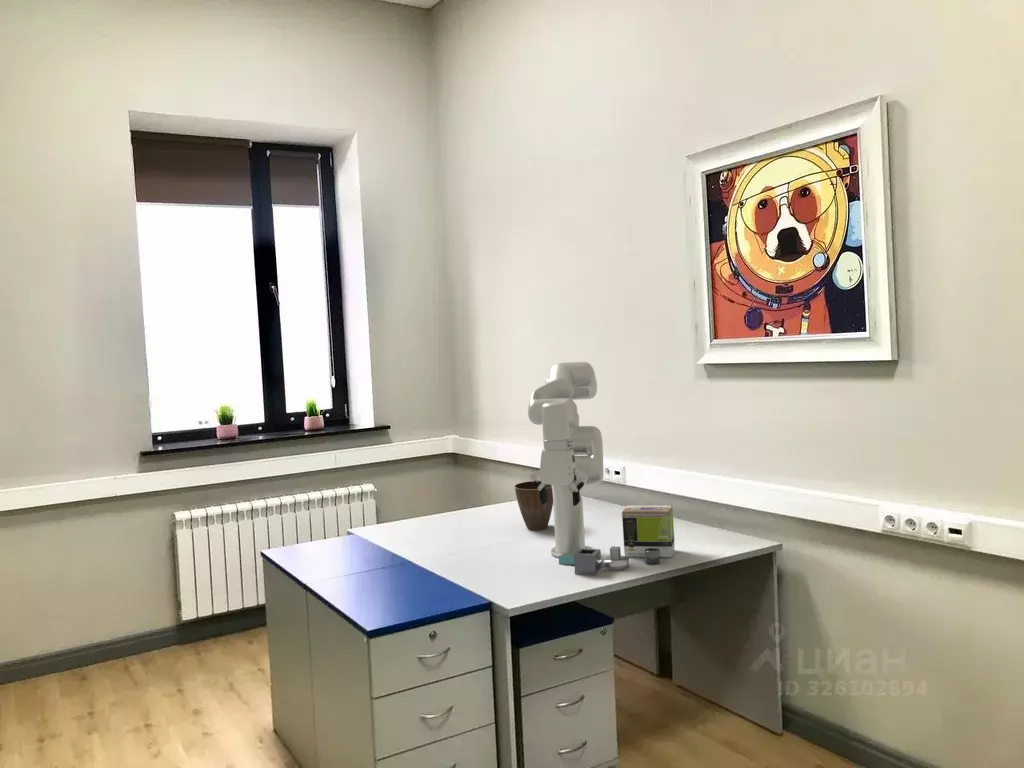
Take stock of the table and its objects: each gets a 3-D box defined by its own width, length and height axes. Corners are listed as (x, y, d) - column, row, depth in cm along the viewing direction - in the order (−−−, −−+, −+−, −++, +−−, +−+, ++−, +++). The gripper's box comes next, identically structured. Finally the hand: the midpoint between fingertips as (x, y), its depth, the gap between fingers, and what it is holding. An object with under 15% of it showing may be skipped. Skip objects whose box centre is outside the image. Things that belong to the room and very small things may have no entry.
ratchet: (632, 564, 255) (631, 545, 254) (624, 571, 247) (623, 552, 247) (565, 558, 264) (564, 540, 264) (556, 566, 257) (555, 547, 257)
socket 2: (647, 560, 258) (646, 547, 257) (661, 561, 256) (660, 548, 256) (644, 564, 254) (643, 551, 253) (658, 565, 252) (657, 552, 252)
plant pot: (558, 531, 299) (555, 487, 298) (516, 534, 299) (514, 490, 298) (556, 521, 314) (554, 479, 312) (517, 524, 314) (514, 482, 313)
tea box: (675, 549, 268) (673, 504, 267) (672, 558, 258) (670, 511, 257) (628, 548, 272) (626, 504, 271) (623, 557, 263) (621, 511, 261)
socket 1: (580, 567, 254) (579, 548, 253) (601, 568, 252) (600, 549, 251) (574, 574, 248) (573, 554, 248) (595, 575, 246) (594, 555, 245)
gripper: (589, 443, 239) (592, 502, 240) (533, 442, 245) (536, 499, 247) (581, 447, 232) (584, 508, 233) (523, 447, 238) (527, 506, 240)
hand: (560, 503), depth 240 cm, fingers open, 9 cm apart
